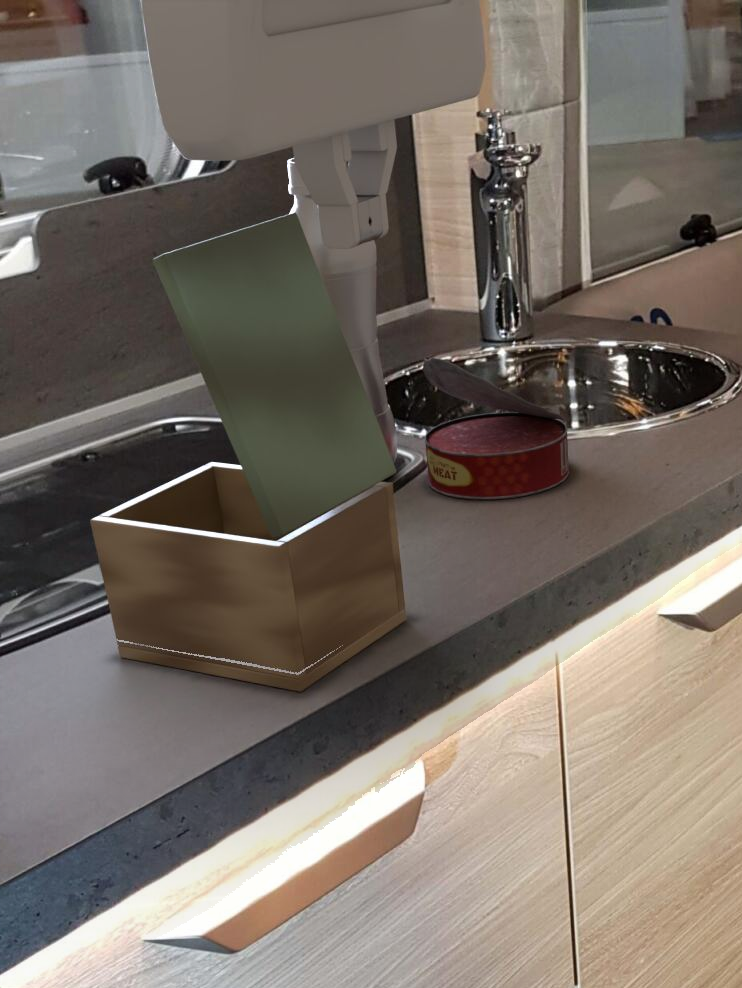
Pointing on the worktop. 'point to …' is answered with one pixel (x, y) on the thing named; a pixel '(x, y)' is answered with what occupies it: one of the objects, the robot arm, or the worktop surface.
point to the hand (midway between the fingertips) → (356, 242)
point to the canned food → (493, 441)
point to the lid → (277, 369)
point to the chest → (248, 579)
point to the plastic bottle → (349, 301)
